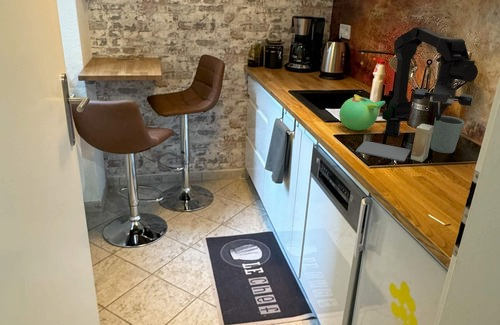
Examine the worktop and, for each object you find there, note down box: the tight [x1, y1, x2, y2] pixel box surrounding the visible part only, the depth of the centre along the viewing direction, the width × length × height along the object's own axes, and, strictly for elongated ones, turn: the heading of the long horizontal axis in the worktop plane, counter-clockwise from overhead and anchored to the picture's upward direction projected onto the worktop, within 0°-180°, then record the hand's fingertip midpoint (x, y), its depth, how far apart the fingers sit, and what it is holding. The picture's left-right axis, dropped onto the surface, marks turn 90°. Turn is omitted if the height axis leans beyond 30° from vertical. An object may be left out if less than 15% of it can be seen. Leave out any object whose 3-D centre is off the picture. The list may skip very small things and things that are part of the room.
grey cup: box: [430, 115, 465, 154], centre depth 154 cm, size 10×10×12 cm
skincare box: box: [410, 123, 434, 163], centre depth 145 cm, size 6×4×12 cm
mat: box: [355, 140, 412, 162], centre depth 153 cm, size 13×18×1 cm
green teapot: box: [338, 94, 386, 132], centre depth 174 cm, size 18×17×15 cm
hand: (437, 120), depth 145 cm, fingers closed
